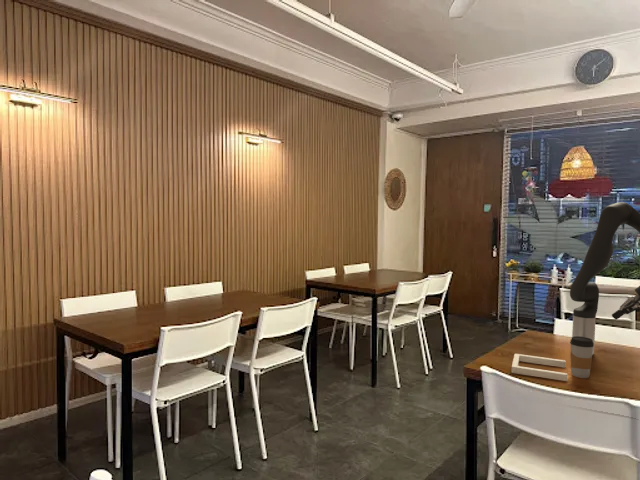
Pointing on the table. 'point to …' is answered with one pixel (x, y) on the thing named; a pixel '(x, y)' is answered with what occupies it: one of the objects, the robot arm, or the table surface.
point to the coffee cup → (581, 356)
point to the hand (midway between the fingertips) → (613, 317)
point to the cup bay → (538, 372)
